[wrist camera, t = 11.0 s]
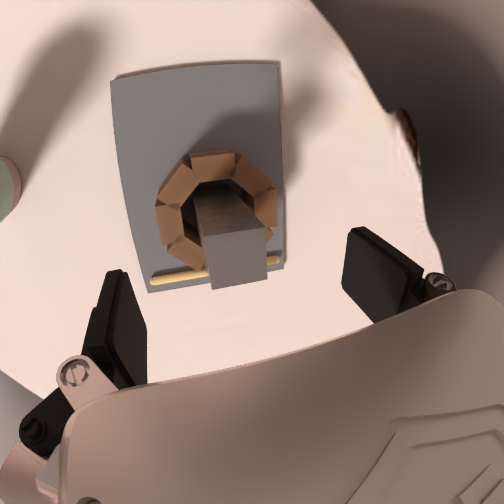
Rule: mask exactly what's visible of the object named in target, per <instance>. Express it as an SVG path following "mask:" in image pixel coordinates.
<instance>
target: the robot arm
mask: <svg viewBox="0 0 504 504" xmlns="http://www.w3.org/2000/svg"><path fill="white" fill-rule="evenodd" d="M423 272H424V269H423V268H422V267H421V266H419V265H418V264H417V263H415V262H414V261H413V260H411V259H410V258H409V257H407V256H406V255H404V254H403V253H402V252H400V251H399V250H398V249H396V248H395V247H393V246H392V245H391V244H389V243H388V242H386V241H385V240H383V239H382V238H381V237H379V236H378V235H376V234H375V233H373V232H372V231H370V230H369V229H367V228H366V227H364V226H362V227H356V228H352V229H351V231H350V232H349V233H348V237H347V245H346V253H345V261H344V268H343V274H342V281H341V284H342V288H343V290H344V291H345V292H346V293H347V294H348V295H349V296H350V297H351V298H352V300H353V301H354V302H355V303H356V304H357V305H358V306H359V307H360V308H361V309H362V311H363V312H364V313H365V314H366V315H367V316H368V317H369V318H370V320H371V321H372V322H373V323H374V324H372V325H370V326H367V327H364V328H362V329H359V330H356V331H353V332H351V333H348V334H345V335H342V336H339V337H337V338H334V339H331V340H328V341H325V342H322V343H319V344H315V345H312V346H309V347H306V348H303V349H299V350H296V351H293V352H289V353H286V354H282V355H279V356H275V357H271V358H268V359H264V360H260V361H256V362H252V363H248V364H244V365H240V366H236V367H231V368H227V369H222V370H218V371H213V372H208V373H203V374H198V375H193V376H188V377H182V378H177V379H171V380H166V381H160V382H155V383H149V384H147V328H146V324H145V322H144V319H143V316H142V314H141V311H140V308H139V305H138V303H137V300H136V297H135V294H134V291H133V288H132V285H131V282H130V279H129V276H128V274H127V272H123V271H122V270H121V269H118V270H113V271H108V272H107V273H106V276H105V279H104V283H103V286H102V289H101V292H100V296H99V299H98V303H97V307H94V308H93V310H92V312H91V316H90V320H89V323H88V327H87V331H86V335H85V339H84V344H83V348H82V353H81V355H76V356H72V357H70V358H68V359H66V360H65V361H64V362H63V363H62V364H61V365H60V367H59V368H58V370H57V373H56V381H57V384H58V386H59V387H58V388H57V389H56V390H54V391H53V392H52V393H51V394H50V395H49V396H48V397H46V398H45V399H44V400H43V401H42V402H41V403H40V404H39V405H37V406H36V407H35V408H34V409H33V410H32V411H31V412H30V413H28V414H27V415H26V416H25V417H24V418H23V420H22V422H21V424H20V427H19V437H20V439H21V442H20V443H19V444H17V443H15V444H14V446H13V447H12V449H11V451H10V453H9V455H8V456H7V458H6V460H5V462H4V464H3V465H2V467H1V469H0V498H1V499H2V500H3V502H4V503H5V504H504V307H503V306H502V305H501V304H499V303H498V302H497V301H496V300H495V299H493V298H492V297H490V296H489V295H488V294H486V293H485V292H483V291H479V290H472V289H469V290H459V291H457V290H456V287H455V284H454V282H453V281H452V280H451V278H449V277H448V276H446V275H444V274H441V273H437V272H432V273H429V274H427V275H426V277H425V279H423V278H422V276H423Z"/></svg>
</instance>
